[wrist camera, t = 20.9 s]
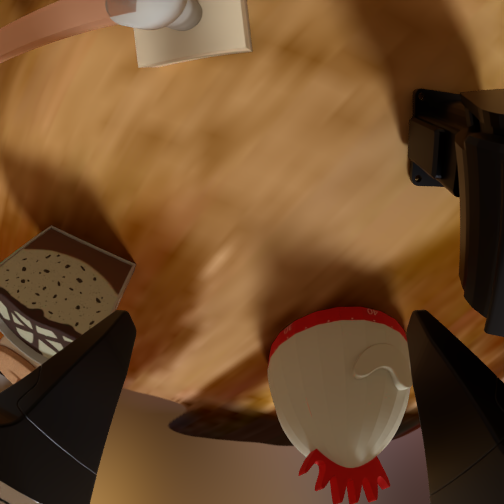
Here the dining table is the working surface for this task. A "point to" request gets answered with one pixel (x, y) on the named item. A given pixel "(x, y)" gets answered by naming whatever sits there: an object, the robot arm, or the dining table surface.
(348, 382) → the kitchen timer
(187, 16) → the housing
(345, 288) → the dining table surface
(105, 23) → the latch bar
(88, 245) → the food container
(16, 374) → the lidded jar
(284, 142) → the dining table surface
